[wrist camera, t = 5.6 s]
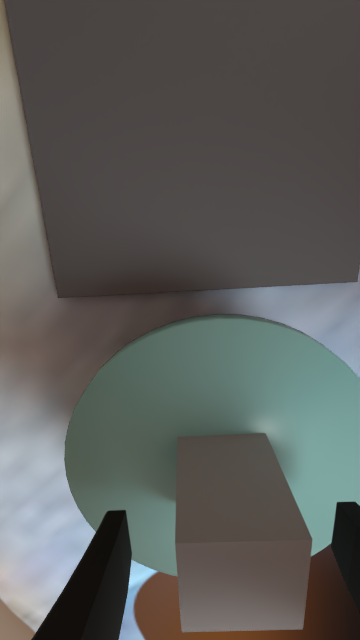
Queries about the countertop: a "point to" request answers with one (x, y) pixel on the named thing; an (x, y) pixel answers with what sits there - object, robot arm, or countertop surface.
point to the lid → (221, 461)
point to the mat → (193, 141)
